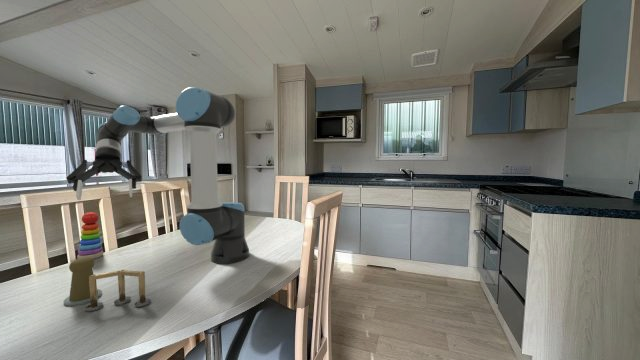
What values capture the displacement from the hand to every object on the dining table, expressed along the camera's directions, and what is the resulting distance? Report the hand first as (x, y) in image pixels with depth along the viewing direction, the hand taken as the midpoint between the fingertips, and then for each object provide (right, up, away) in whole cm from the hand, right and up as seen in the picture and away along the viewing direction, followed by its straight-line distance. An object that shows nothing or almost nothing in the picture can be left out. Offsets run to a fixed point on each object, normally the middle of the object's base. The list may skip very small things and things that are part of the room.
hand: (105, 196), depth 84 cm
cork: (+5, -28, -13) cm, 32 cm away
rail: (+18, -29, -17) cm, 38 cm away
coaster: (+5, -29, -13) cm, 32 cm away
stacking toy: (-21, -27, +17) cm, 38 cm away
